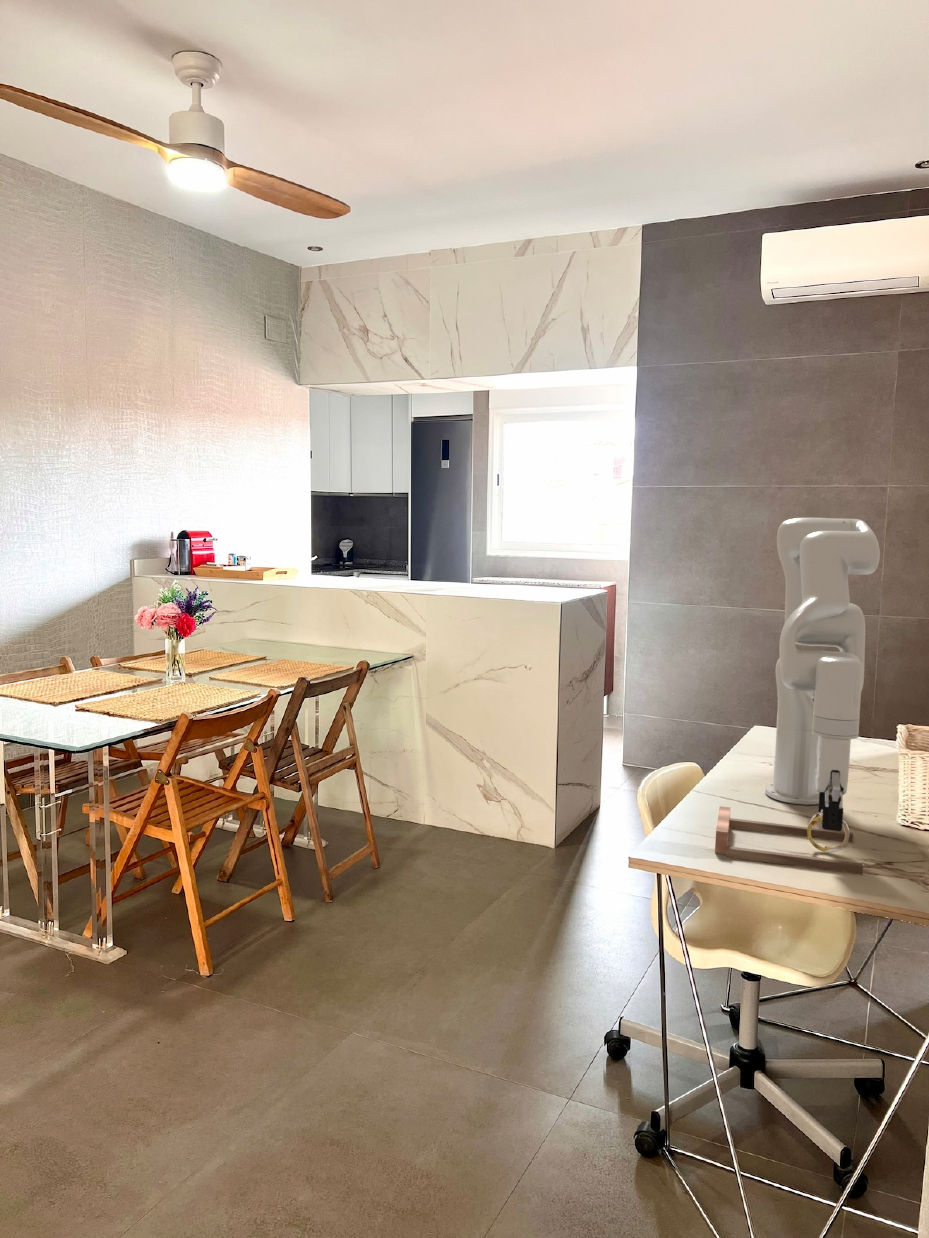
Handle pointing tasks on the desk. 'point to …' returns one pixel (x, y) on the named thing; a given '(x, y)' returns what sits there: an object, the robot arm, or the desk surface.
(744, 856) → the channel
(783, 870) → the desk surface
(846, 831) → the ring
